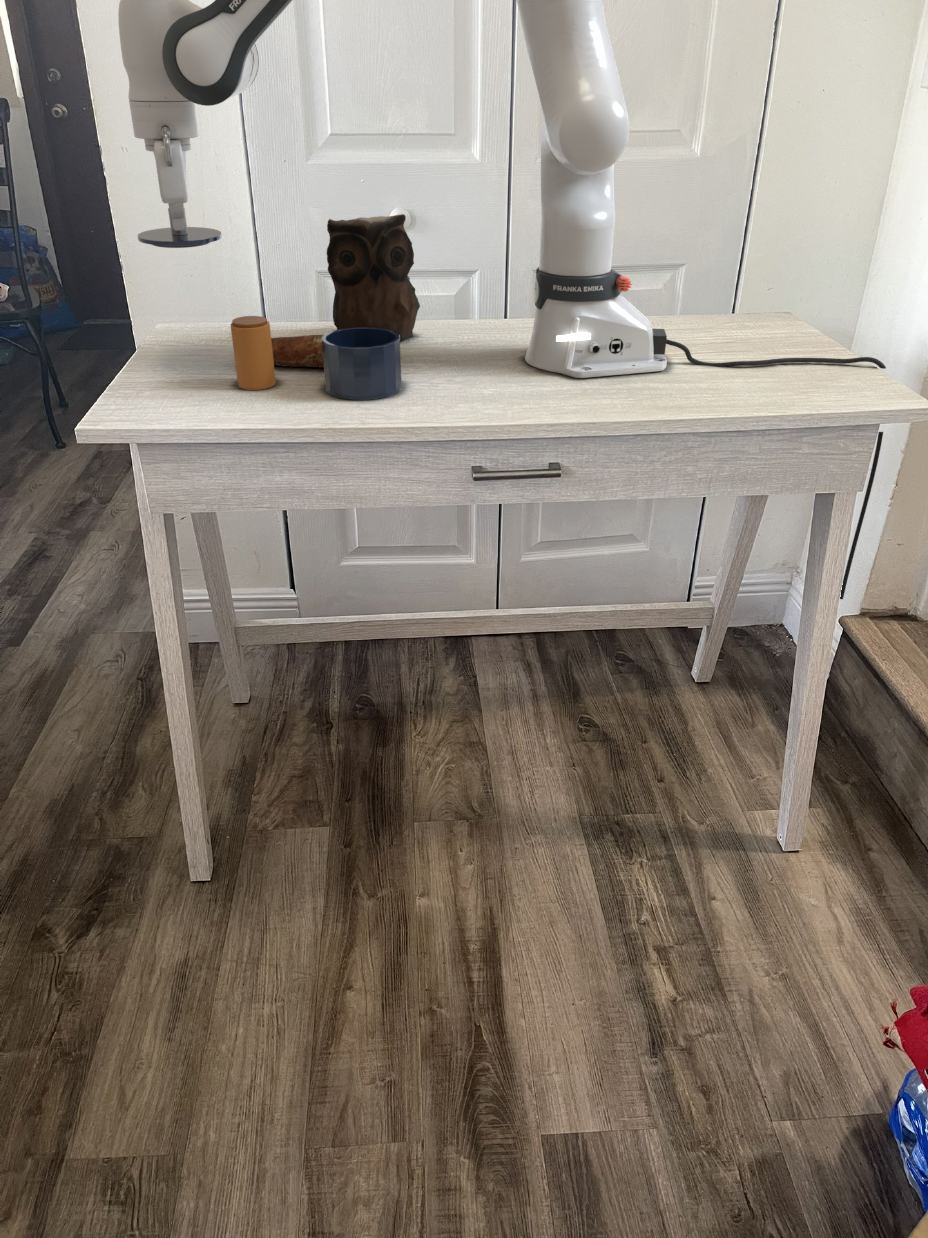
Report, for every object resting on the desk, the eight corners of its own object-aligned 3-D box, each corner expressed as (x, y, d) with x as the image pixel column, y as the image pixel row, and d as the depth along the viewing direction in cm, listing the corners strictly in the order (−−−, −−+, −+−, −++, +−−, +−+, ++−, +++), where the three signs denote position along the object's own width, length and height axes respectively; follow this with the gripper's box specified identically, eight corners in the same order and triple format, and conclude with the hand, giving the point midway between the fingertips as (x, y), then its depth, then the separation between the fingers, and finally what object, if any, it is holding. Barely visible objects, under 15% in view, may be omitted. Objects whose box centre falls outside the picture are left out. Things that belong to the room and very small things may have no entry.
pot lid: (227, 234, 148) (223, 201, 145) (216, 249, 137) (212, 214, 135) (147, 235, 147) (142, 201, 144) (131, 250, 136) (125, 214, 134)
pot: (400, 375, 146) (398, 326, 142) (402, 399, 136) (400, 347, 132) (327, 377, 145) (323, 327, 141) (324, 401, 135) (320, 348, 131)
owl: (423, 335, 165) (420, 212, 154) (380, 353, 156) (375, 223, 145) (364, 325, 170) (358, 206, 160) (320, 342, 161) (310, 216, 151)
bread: (361, 374, 146) (359, 338, 143) (244, 368, 149) (239, 332, 146) (371, 362, 151) (369, 327, 148) (258, 356, 154) (254, 321, 151)
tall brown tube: (277, 378, 144) (270, 314, 139) (274, 389, 140) (267, 324, 135) (240, 378, 144) (232, 315, 139) (235, 390, 139) (227, 325, 134)
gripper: (189, 129, 126) (203, 239, 133) (186, 117, 143) (199, 216, 150) (140, 129, 124) (157, 240, 132) (143, 118, 141) (157, 217, 149)
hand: (179, 227), depth 141 cm, fingers closed on pot lid, 2 cm apart
